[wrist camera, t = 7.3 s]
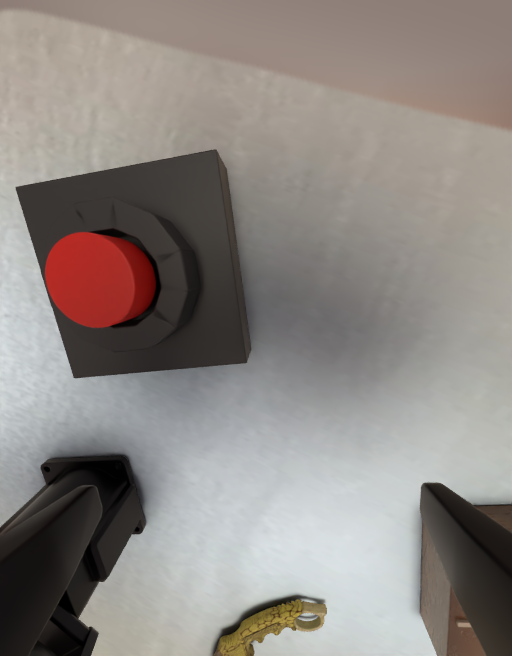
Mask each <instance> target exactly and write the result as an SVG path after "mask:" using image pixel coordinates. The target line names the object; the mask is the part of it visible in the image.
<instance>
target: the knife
mask: <svg viewBox="0 0 512 656" xmlns="http://www.w3.org/2000/svg"><path fill="white" fill-rule="evenodd" d="M303 613H313V614H316V615H318V616H319V617H318V618H316V619H315V620H312V621H302V620H299V619H298V618H297V617H298V616H299V615H301V614H303ZM326 614H327V608H326V606H325V604H316V603H309V602H305V601H303V602H301V600H299V599H297V600H296V601H295V602H294V601H291V603H289V602H286V605H285V604H284V603H283V604H282V605H281V606H280V605H278V606H277V607H275V606H274V607H271V608H268V609H266V610H263V611H261V612H259V613H257V614H255V615H253V616H251V617H249V618H247V619H245V620H244V621H242V622H241V626H240V628H239V629H238V630H237V631H236V632H234V633H233V634H230V635H226V636H222V637H221V638H220V640H219V644H218V647H217V650H216V652H215V653H214V655H213V656H254V649H253V645H252V644H251V641H253V640H256V641H258V642H259V643H262V642H263V640H264V637H265V636H266V635H267V634H269V633H274V634H275V635H279V634H280V632H281V631H282V630H283V629H284V628H285V627H289V628H291V629H292V630H293V631H296V629H297V630H299V631H306V632H309V631H315V630H317V629H319V628H321V627H322V626H323V624H324V616H325V615H326Z"/></svg>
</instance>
